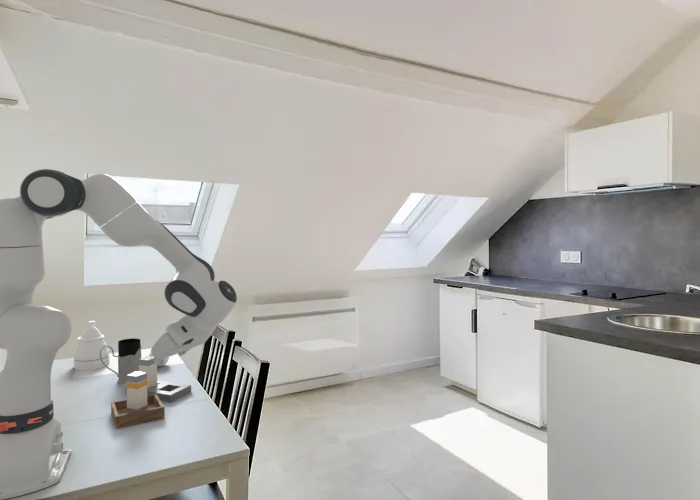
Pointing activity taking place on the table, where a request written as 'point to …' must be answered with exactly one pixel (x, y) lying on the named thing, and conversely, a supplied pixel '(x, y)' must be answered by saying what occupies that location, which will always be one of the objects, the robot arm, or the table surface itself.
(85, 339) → the honey pot
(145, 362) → the block
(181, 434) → the table surface
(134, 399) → the block
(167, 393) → the fuse block
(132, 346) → the grey mug
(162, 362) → the ball
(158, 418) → the tray
